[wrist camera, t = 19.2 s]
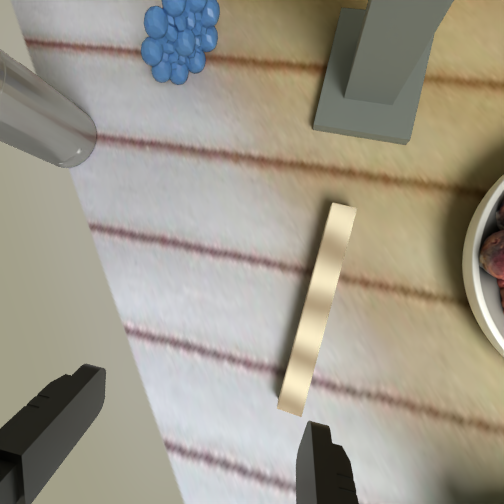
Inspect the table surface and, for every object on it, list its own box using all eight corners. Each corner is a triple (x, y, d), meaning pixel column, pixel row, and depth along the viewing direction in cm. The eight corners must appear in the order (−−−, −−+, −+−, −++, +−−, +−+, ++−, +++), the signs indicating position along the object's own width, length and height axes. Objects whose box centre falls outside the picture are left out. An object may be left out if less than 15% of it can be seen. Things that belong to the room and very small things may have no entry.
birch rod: (300, 405, 38) (301, 417, 35) (278, 397, 39) (277, 408, 36) (352, 213, 39) (357, 208, 36) (329, 207, 39) (332, 202, 36)
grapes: (213, 22, 43) (182, -72, 31) (239, 56, 42) (217, -28, 30) (150, 73, 44) (97, 0, 32) (175, 107, 43) (129, 44, 31)
